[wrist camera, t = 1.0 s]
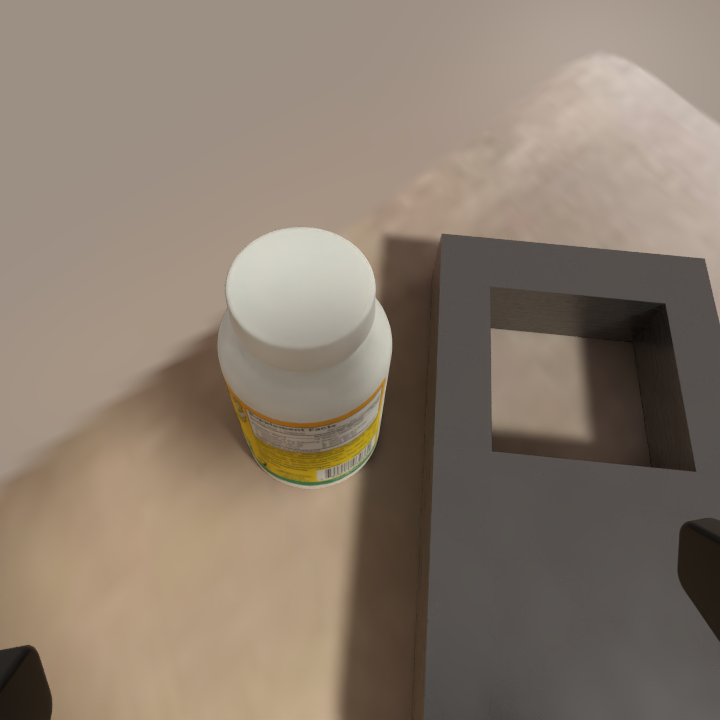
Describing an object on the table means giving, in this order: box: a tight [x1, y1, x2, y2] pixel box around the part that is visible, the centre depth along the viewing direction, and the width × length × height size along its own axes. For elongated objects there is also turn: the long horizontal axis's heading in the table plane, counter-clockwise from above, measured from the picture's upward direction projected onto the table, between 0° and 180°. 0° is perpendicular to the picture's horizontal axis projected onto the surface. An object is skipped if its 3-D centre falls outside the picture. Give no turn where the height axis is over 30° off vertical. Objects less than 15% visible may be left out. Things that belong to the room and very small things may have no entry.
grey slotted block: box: [412, 234, 720, 720], centre depth 22 cm, size 20×11×3 cm, turn 175°
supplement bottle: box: [217, 227, 392, 489], centre depth 20 cm, size 5×5×10 cm
